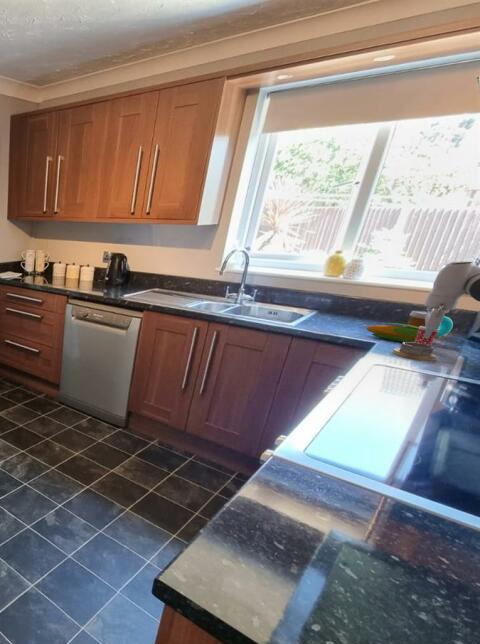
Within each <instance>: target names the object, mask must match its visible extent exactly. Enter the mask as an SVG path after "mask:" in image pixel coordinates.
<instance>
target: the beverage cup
mask: <svg viewBox="0 0 480 644" xmlns="http://www.w3.org/2000/svg"><path fill="white" fill-rule="evenodd" d="M425 331H426V327H425V326H419V331H418V334H417V337H416V340H415V342H414V343H420V344H425V345H429V346H432V343H433V341H434V340H435V338H436V337H435V336H436V335H437V333H438V332H439V331H440V329H434V331H433V332H432V334H431V335H430V337H429V338H424V337H423V336H424V334H425Z"/></svg>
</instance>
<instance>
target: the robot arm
mask: <svg viewBox="0 0 480 644" xmlns="http://www.w3.org/2000/svg"><path fill="white" fill-rule="evenodd" d="M432 284H433V286H432V289H431V290H430V292H429V293H428V295H427V297H426V299H425V301H424V304H423V306H425V307H427V308H426V312H427V314H426V318H425V327H426V331H425V334H424V336H423V337H424V338H429V337H430V335H431V334H432V332H433V331H434V329H438V328H439V326H440V324H441V322H442V319H443V317H444V316H445V315H446V314H448V313H449V312H450V310H455V309H456V308H457V305H458V304H459V301H460V299H461V298H462V296H463V295H465V296H470V298H472V299H474V300H475V301H477V302H480V267H479V266H478V265H477V264H475V263H474V262H473V261H451V262H448V263H445V264H444V265H443V266H442V267H441V268H440V269H439V271H438V273H437V275H436V277H435V279H434V281H433V283H432Z"/></svg>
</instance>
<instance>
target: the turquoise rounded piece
mask: <svg viewBox="0 0 480 644" xmlns="http://www.w3.org/2000/svg"><path fill="white" fill-rule="evenodd" d="M453 326H454V323H453V320H452V319H451V318H450V317H449V316H445V315H444V317H443V319H442V322H441V324H440V326H439V328H438V329H440V331H439V332H438V333H437V335H436V336H435V338H438V337H442V336H445V335H447V334H449V333H450V331H451V330H452V329H453Z"/></svg>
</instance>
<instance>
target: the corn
mask: <svg viewBox="0 0 480 644" xmlns="http://www.w3.org/2000/svg"><path fill="white" fill-rule="evenodd" d="M407 326H409V327H407ZM410 327H414V328H410ZM365 328H366V330H367V331H368V332H370V333H372V334H371V335H372V336H373V337H376V338H379V339H382V340H387V341H394V342H398V343H403V342H415V340H416V337H417V334H418V331H419V327H416V326H412V325H408V324H405V323H395V322H394V323H393V322H388V325H386V324H385V325H384V324H373V325H369V326H366V327H365ZM417 328H418V329H417Z"/></svg>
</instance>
